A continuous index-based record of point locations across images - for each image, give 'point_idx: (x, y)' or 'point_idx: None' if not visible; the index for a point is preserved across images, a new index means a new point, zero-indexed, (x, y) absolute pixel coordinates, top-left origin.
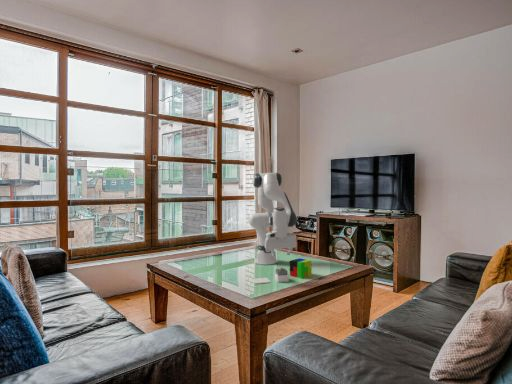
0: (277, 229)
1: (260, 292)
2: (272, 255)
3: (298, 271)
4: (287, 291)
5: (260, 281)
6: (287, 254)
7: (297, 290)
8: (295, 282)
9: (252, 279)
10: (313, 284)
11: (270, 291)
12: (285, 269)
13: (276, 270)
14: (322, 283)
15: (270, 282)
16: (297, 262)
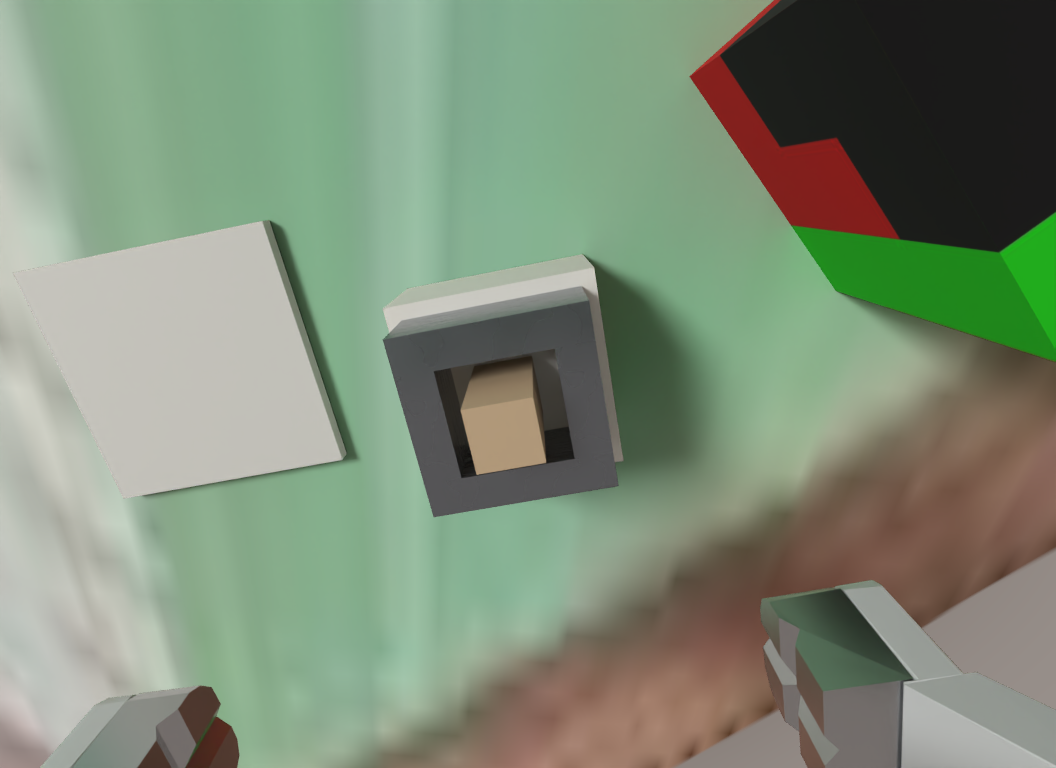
0: None
1: (260, 750)
2: (107, 719)
3: (864, 254)
4: (538, 748)
5: (191, 428)
6: (778, 691)
7: (646, 733)
8: (691, 472)
9: (38, 307)
10: (891, 573)
11: (362, 734)
12: (595, 380)
13: (403, 404)
14: (1019, 548)
15: (344, 455)
16: (1000, 260)
